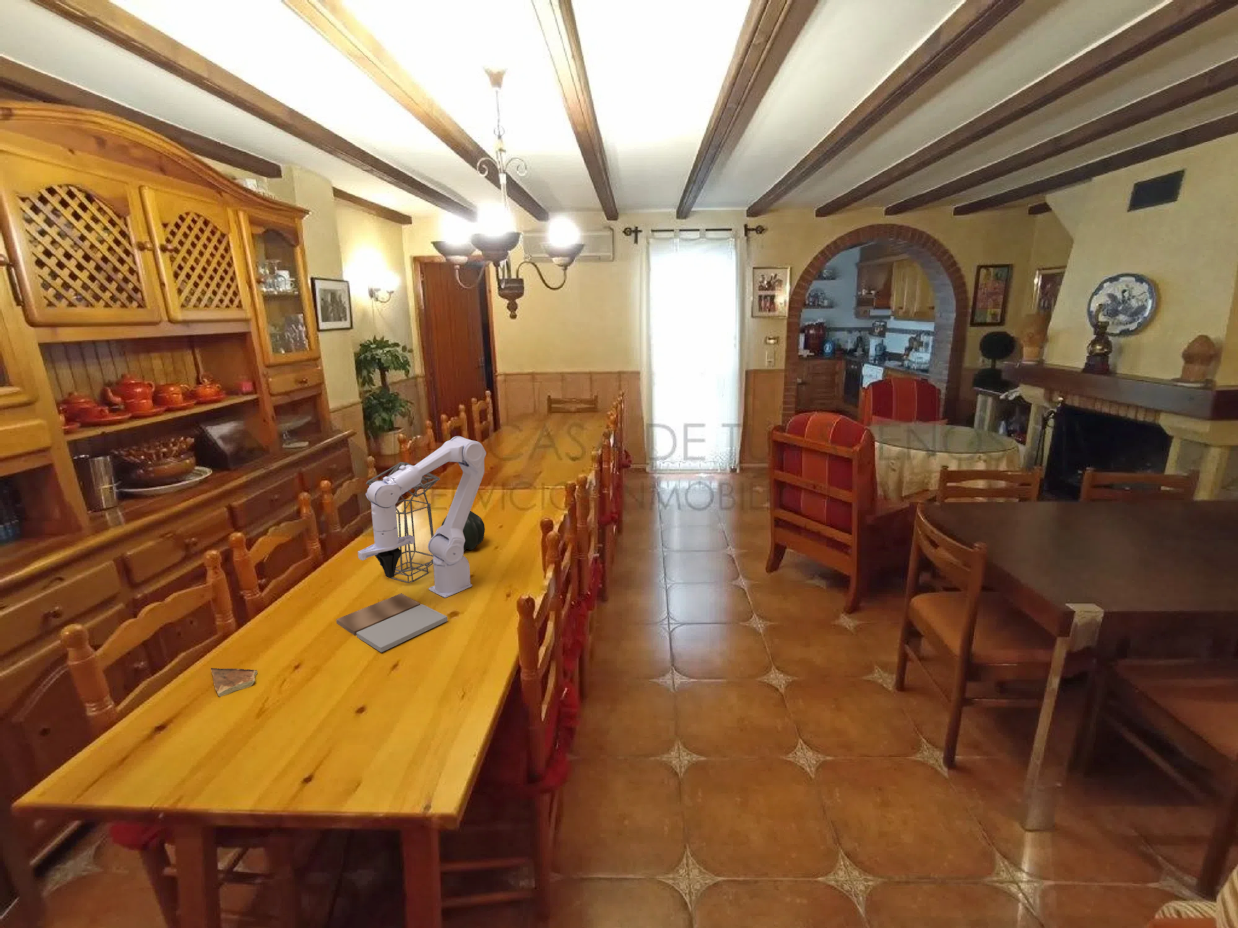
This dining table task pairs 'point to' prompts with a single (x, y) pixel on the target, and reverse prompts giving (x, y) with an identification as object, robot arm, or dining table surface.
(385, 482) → the robot arm
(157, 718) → the dining table surface
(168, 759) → the dining table surface
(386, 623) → the grey plank
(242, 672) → the shard
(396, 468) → the geometric lantern
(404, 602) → the walnut board
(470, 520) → the squash
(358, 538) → the dining table surface
